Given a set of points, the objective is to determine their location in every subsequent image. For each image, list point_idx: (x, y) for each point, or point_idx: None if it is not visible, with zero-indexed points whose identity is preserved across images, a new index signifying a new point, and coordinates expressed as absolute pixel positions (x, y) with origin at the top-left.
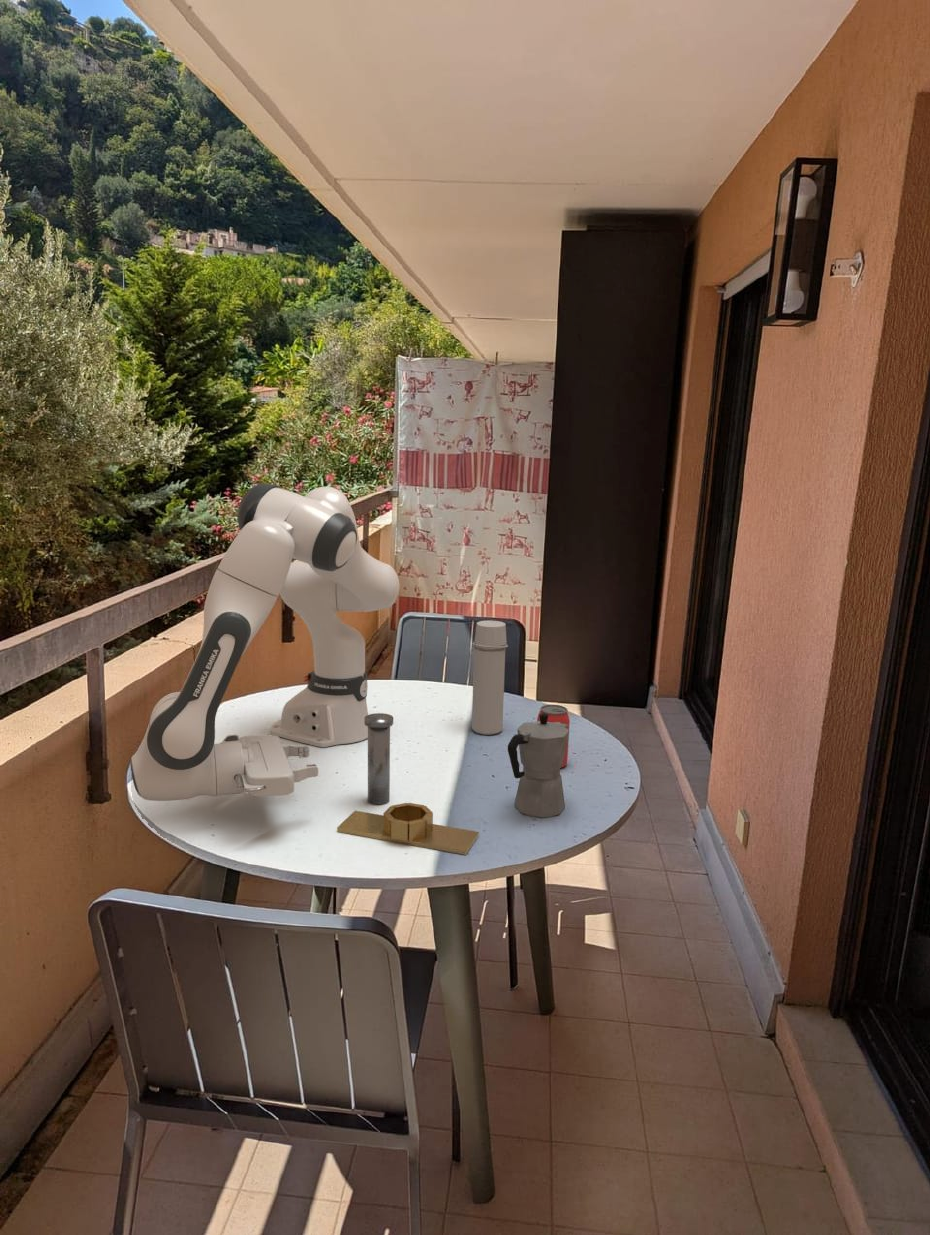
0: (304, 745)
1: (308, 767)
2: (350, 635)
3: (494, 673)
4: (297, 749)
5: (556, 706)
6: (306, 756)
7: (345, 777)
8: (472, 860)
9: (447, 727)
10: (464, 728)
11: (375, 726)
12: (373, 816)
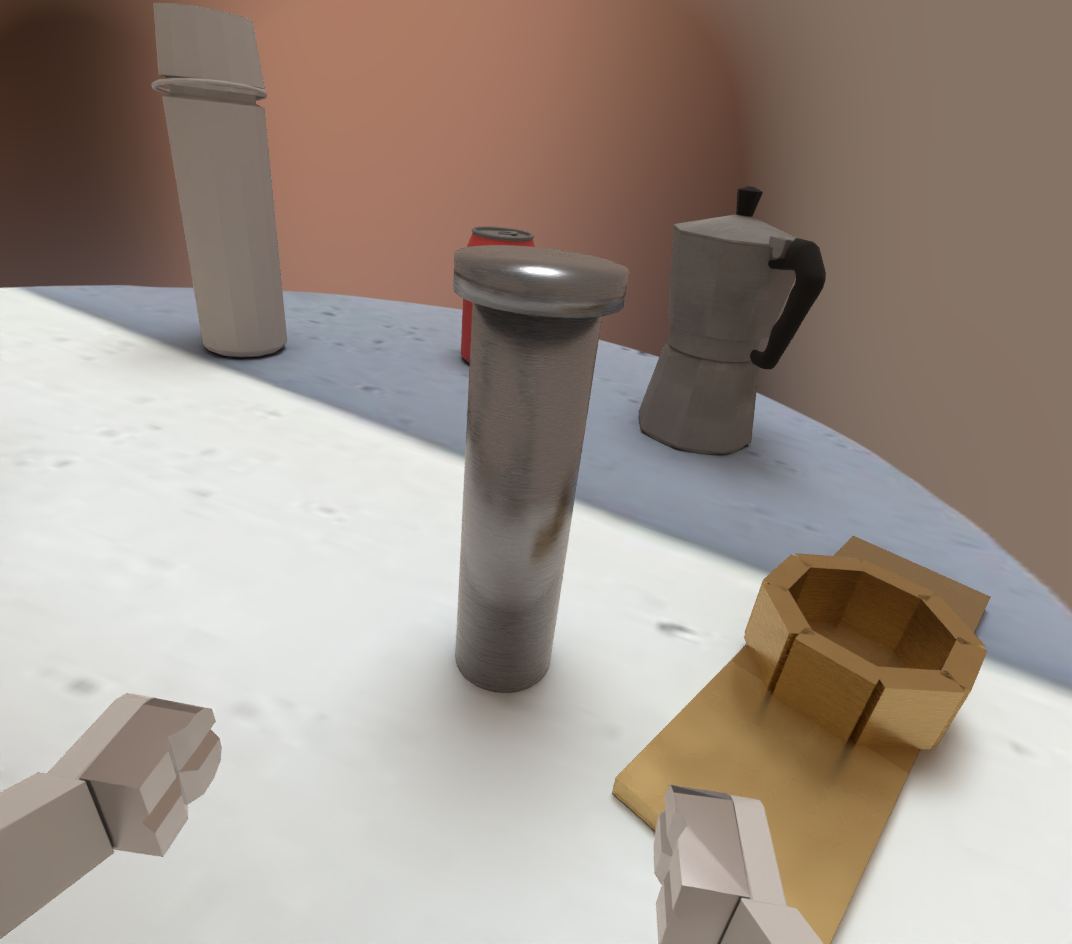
0: (111, 711)
1: (781, 890)
2: None
3: (264, 177)
4: (78, 810)
5: (484, 230)
6: (207, 781)
7: (173, 675)
8: (1015, 609)
9: (140, 369)
10: (187, 358)
11: (614, 303)
12: (702, 729)
